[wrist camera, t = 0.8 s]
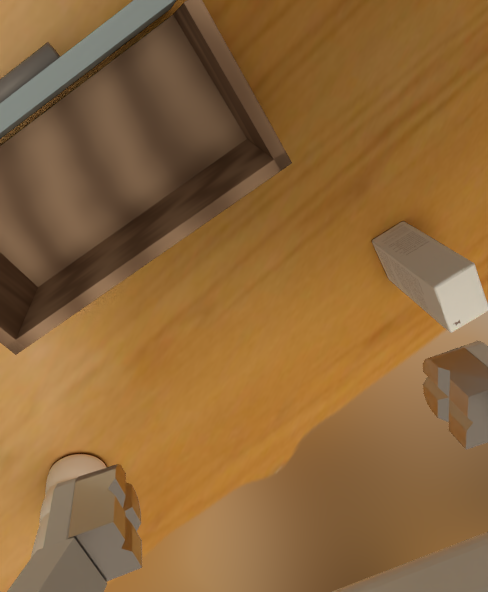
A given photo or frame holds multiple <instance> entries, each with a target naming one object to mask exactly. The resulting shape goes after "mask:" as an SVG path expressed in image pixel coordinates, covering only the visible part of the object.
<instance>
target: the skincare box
mask: <svg viewBox="0 0 488 592" xmlns="http://www.w3.org/2000/svg"><path fill="white" fill-rule="evenodd" d="M372 243H373V245H374V247H375V250H376V252H377V254H378V257H379V259H380V261H381V263H382V265H383V268H384V270H385V272H386V274H387V277H388V279H389V280H390V281H391V282H392V283H394V284H395V285H396V286H397V287H398V288H399V289H400V290H402V291H403V292H404V293H405V294H406V295H407V296H409V297H410V298H411V299H412V300H413V301H414V302H416V303H417V304H418V305H419V306H420V307H421V308H422V309H424V310H425V311H426V312H427V313H428V314H429V315H431V316H432V317H433V318H434V319H435V320H436V321H437V322H438V323H440V324H441V325H442V326H443V327H444V328H446V329H447V330H448V331H449V332H453V331H455V330H457V329H458V328H460V327H462V326H463V325H465V324H467V323H469V322H470V321H472V320H474V319H475V318H477V317H479V316H480V315H482V314H484V313H485V312H487V311H488V304H487V301H486V298H485V295H484V292H483V289H482V286H481V283H480V280H479V276H478V273H477V270H476V267H475V264H474V263H473V262H471V261H469V260H468V259H466V258H464V257H463V256H461V255H459V254H458V253H456V252H454V251H453V250H451V249H449V248H448V247H446V246H444V245H443V244H441V243H439V242H438V241H436V240H434V239H433V238H431V237H429V236H428V235H426V234H424V233H423V232H421V231H419V230H418V229H416V228H414V227H413V226H411V225H409V224H408V223H406V222H404V221H402V222H400V223H399V224H397V225H396V226H394V227H392V228H391V229H389V230H388V231H386V232H384V233H383V234H381V235H379V236H378V237H376V238H375V239H373V240H372Z"/></svg>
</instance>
